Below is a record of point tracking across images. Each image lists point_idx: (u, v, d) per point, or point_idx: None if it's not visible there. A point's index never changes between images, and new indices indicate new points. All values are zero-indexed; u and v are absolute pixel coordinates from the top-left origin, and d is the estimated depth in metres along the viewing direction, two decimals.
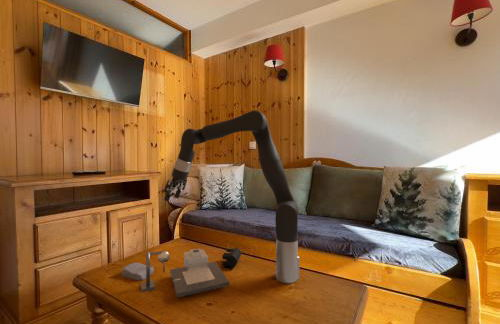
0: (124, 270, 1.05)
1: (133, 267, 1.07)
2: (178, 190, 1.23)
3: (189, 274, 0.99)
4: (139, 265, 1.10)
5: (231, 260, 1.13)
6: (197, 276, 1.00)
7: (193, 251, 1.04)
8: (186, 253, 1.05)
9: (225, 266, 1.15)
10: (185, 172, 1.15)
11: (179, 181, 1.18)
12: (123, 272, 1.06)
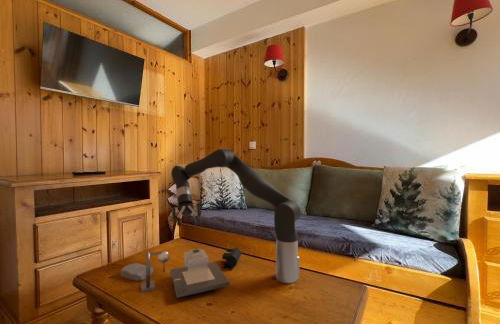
0: (123, 271, 1.05)
1: (132, 268, 1.07)
2: (194, 217, 1.23)
3: (189, 274, 0.99)
4: (138, 265, 1.10)
5: (231, 260, 1.13)
6: (197, 276, 1.00)
7: (193, 251, 1.04)
8: (186, 253, 1.05)
9: (225, 266, 1.15)
10: (182, 194, 1.25)
11: (185, 206, 1.24)
12: (122, 273, 1.05)
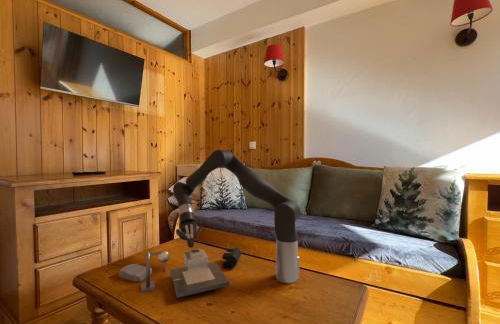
0: (122, 271, 1.04)
1: (131, 268, 1.06)
2: None
3: (189, 274, 0.99)
4: (137, 266, 1.09)
5: (231, 260, 1.13)
6: (197, 276, 1.00)
7: (193, 251, 1.04)
8: (186, 253, 1.05)
9: (225, 266, 1.15)
10: (184, 212, 1.22)
11: (187, 224, 1.20)
12: (121, 273, 1.05)
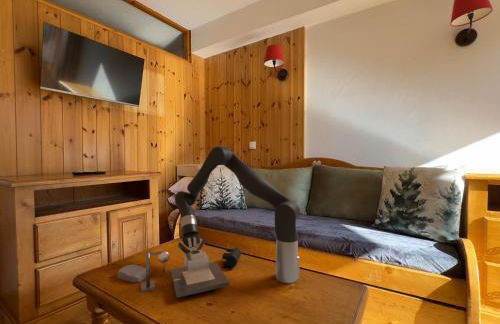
0: (120, 272, 1.04)
1: (129, 269, 1.05)
2: None
3: (190, 275, 0.98)
4: (135, 267, 1.08)
5: (231, 260, 1.13)
6: (197, 276, 1.00)
7: (194, 252, 1.03)
8: (187, 254, 1.04)
9: (225, 266, 1.15)
10: (186, 224, 1.15)
11: (190, 237, 1.14)
12: (119, 274, 1.04)
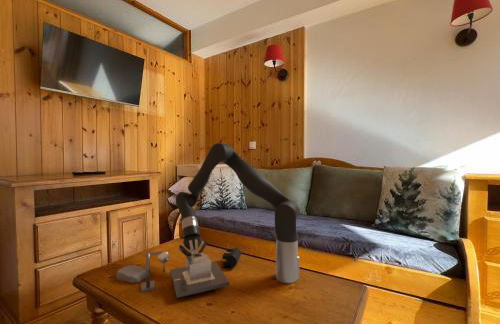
0: (119, 273, 1.03)
1: (128, 270, 1.05)
2: None
3: (191, 280, 0.95)
4: (134, 267, 1.08)
5: (231, 260, 1.13)
6: None
7: (195, 255, 0.99)
8: (188, 257, 1.01)
9: (225, 266, 1.15)
10: (188, 226, 1.12)
11: (192, 239, 1.11)
12: (118, 275, 1.03)
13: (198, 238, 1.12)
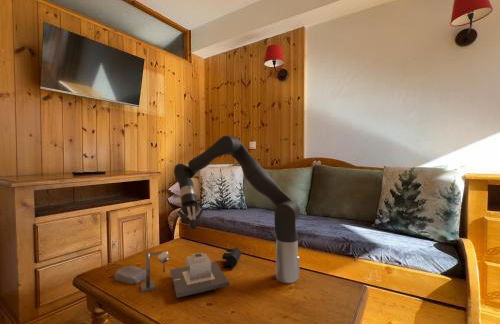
0: (117, 274, 1.02)
1: (127, 271, 1.04)
2: None
3: (191, 280, 0.95)
4: (133, 268, 1.07)
5: (231, 260, 1.13)
6: None
7: (195, 255, 0.99)
8: (188, 257, 1.01)
9: (225, 266, 1.15)
10: (185, 194, 1.18)
11: (189, 206, 1.17)
12: (116, 276, 1.03)
13: (195, 205, 1.18)
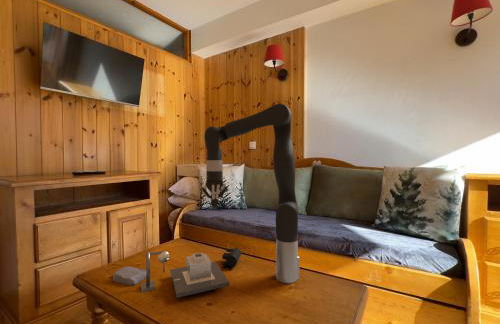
0: (115, 275, 1.01)
1: (125, 272, 1.03)
2: None
3: (191, 280, 0.95)
4: (131, 269, 1.06)
5: (231, 260, 1.13)
6: None
7: (195, 255, 0.99)
8: (188, 257, 1.01)
9: (225, 266, 1.15)
10: (213, 171, 1.10)
11: (214, 183, 1.13)
12: (114, 277, 1.02)
13: (220, 182, 1.14)
